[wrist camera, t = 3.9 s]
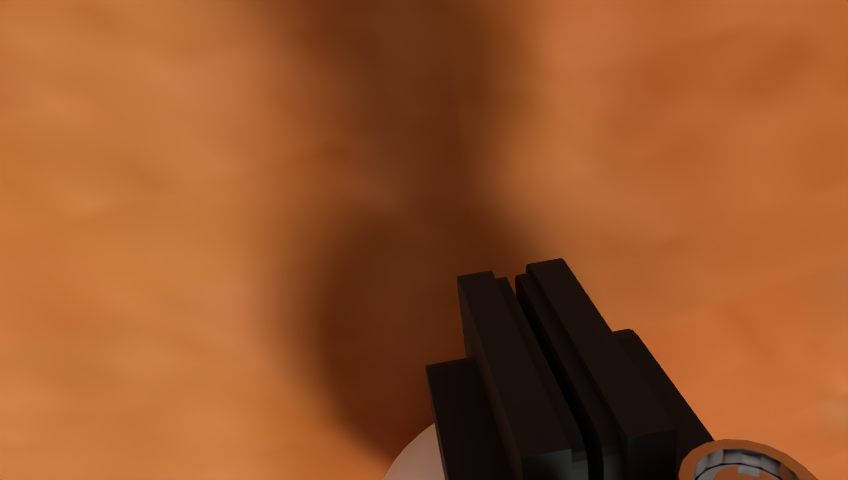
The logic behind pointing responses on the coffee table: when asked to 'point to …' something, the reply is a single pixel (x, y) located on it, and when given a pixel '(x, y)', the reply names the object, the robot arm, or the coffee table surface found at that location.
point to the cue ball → (418, 459)
